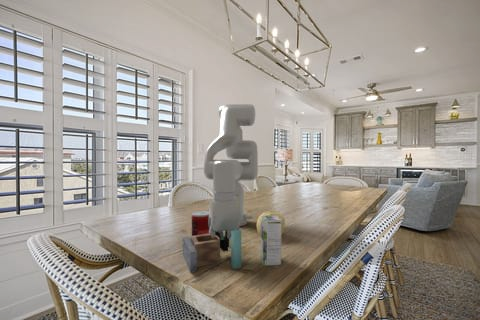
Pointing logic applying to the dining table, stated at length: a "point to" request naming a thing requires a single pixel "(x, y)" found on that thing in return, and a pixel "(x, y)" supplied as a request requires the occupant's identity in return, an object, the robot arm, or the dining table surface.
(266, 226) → the syrup box
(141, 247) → the dining table surface
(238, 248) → the dowel
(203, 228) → the canned food
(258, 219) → the sculpture
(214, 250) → the brown wooden open box
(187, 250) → the wall
